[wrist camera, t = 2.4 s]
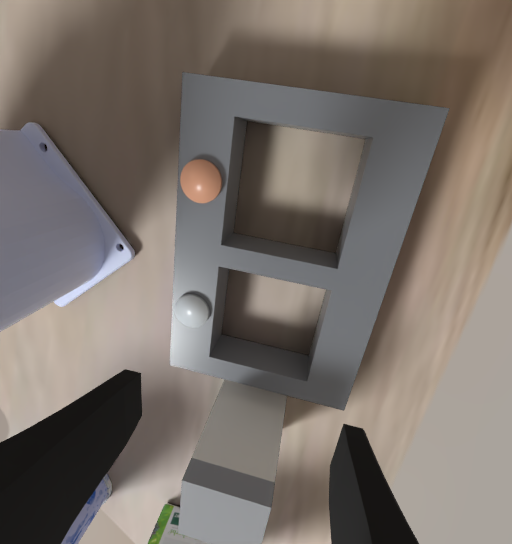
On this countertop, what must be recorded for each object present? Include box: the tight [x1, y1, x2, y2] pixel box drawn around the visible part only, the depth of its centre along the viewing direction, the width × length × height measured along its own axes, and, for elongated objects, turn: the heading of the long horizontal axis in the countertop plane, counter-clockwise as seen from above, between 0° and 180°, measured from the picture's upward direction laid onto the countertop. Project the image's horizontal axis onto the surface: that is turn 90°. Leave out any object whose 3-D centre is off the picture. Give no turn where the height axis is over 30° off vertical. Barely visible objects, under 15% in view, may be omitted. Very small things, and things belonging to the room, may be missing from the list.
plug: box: [178, 380, 287, 544], centre depth 19 cm, size 4×4×8 cm
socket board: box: [170, 72, 449, 410], centre depth 17 cm, size 16×11×3 cm
